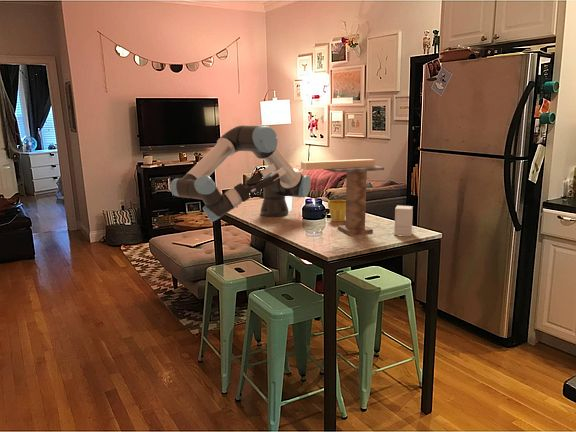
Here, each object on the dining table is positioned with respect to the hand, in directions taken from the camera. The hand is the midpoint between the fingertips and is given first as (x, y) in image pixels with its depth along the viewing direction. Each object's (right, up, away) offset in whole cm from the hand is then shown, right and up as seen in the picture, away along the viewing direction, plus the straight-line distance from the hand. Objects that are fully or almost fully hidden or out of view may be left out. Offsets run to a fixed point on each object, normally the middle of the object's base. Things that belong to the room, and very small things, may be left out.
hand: (279, 168), depth 206 cm
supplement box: (+56, -29, +13) cm, 64 cm away
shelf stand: (+33, -28, +18) cm, 47 cm away
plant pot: (+29, -23, +40) cm, 55 cm away
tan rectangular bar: (+26, +1, +9) cm, 28 cm away
